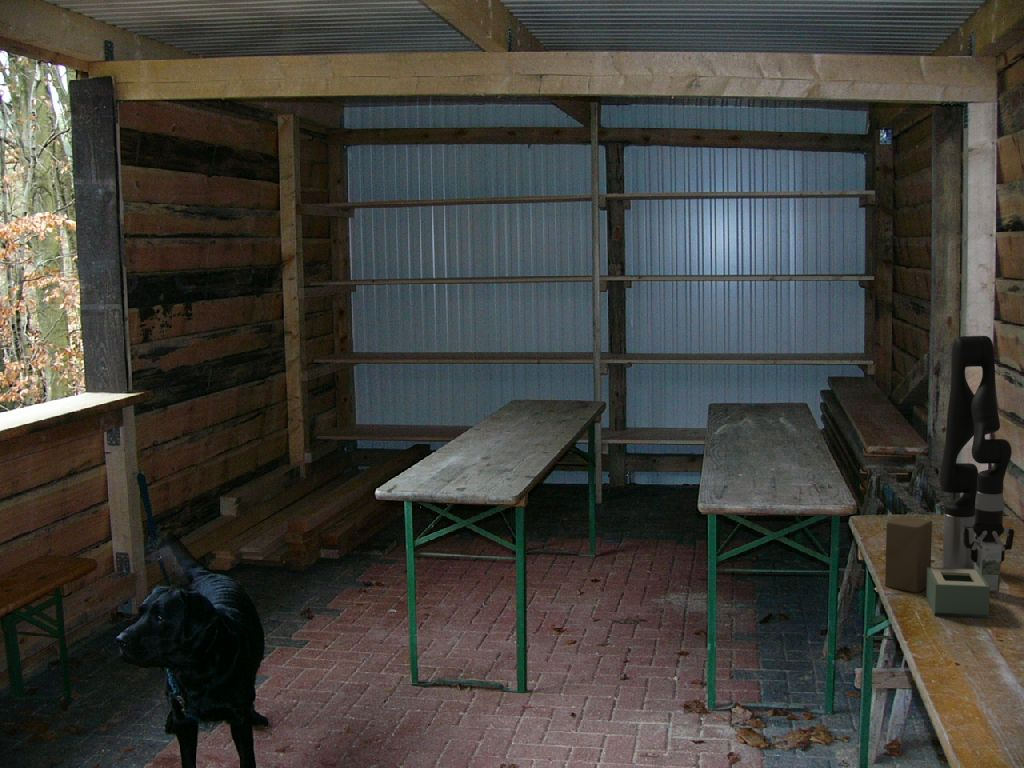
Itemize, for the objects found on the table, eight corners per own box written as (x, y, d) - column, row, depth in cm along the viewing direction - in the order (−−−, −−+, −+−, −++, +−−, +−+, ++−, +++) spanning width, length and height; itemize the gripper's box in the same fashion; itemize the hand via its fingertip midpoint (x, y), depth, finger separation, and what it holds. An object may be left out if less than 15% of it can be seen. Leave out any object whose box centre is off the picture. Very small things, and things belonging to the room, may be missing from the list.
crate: (926, 597, 328) (927, 567, 326) (977, 599, 325) (978, 569, 323) (934, 616, 312) (935, 584, 311) (988, 618, 309) (989, 586, 308)
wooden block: (884, 586, 338) (885, 521, 335) (898, 578, 345) (900, 515, 342) (916, 593, 331) (918, 527, 328) (930, 585, 338) (932, 520, 335)
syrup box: (990, 585, 333) (992, 538, 331) (1000, 592, 327) (1002, 544, 325) (971, 586, 333) (973, 538, 330) (980, 592, 327) (982, 544, 325)
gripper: (1012, 504, 328) (1010, 559, 331) (960, 502, 331) (958, 557, 334) (1018, 510, 321) (1016, 567, 324) (965, 509, 324) (963, 565, 326)
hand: (986, 562), depth 329 cm, fingers closed on syrup box, 6 cm apart
